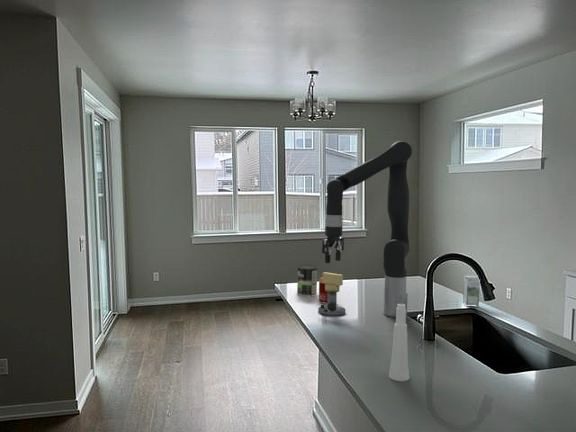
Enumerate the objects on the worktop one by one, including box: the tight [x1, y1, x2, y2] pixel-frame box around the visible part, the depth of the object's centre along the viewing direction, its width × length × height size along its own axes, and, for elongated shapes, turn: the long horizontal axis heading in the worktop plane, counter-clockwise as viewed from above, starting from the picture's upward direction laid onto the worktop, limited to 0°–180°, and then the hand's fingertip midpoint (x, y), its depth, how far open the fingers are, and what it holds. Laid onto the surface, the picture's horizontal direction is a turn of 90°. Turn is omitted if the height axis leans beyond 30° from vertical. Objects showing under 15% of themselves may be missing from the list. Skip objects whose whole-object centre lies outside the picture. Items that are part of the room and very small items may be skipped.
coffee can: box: [296, 264, 318, 297], centre depth 239 cm, size 10×10×14 cm
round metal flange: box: [317, 292, 346, 317], centre depth 206 cm, size 12×12×10 cm
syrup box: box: [462, 274, 481, 306], centre depth 220 cm, size 6×6×14 cm
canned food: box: [318, 278, 328, 304], centre depth 225 cm, size 8×8×11 cm
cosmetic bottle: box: [388, 304, 410, 382], centre depth 137 cm, size 6×6×22 cm
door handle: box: [318, 271, 344, 293], centre depth 205 cm, size 10×6×8 cm, turn 53°
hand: (332, 261), depth 204 cm, fingers open, 8 cm apart
